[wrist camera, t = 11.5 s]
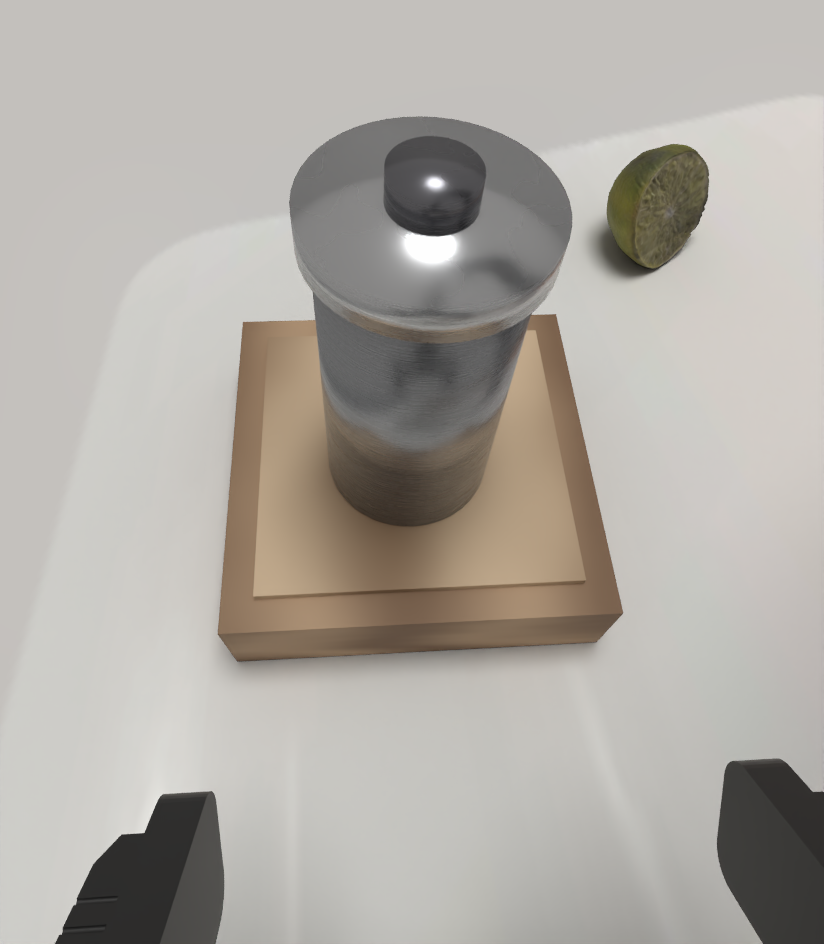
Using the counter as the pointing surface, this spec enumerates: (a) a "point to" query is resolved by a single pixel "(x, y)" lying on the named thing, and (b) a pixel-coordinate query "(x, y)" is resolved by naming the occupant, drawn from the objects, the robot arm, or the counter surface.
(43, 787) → the counter surface
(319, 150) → the grey lidded canister
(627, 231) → the lime
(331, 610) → the stand
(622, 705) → the counter surface
